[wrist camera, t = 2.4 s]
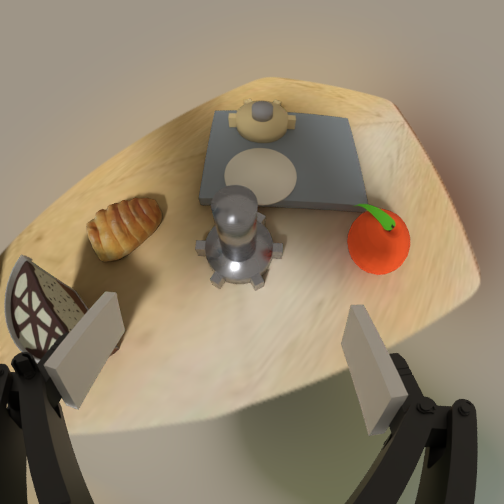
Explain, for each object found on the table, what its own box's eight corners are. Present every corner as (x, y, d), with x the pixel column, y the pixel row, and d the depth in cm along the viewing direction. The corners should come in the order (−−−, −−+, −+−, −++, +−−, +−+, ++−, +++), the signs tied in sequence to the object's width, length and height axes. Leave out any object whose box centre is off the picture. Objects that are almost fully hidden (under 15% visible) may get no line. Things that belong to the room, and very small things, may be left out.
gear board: (199, 210, 33) (192, 186, 28) (216, 115, 40) (213, 90, 35) (365, 218, 33) (380, 195, 28) (344, 122, 39) (352, 98, 35)
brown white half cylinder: (42, 315, 28) (-11, 293, 18) (70, 282, 30) (20, 250, 20) (95, 393, 25) (38, 396, 15) (127, 358, 26) (76, 351, 17)
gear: (194, 288, 29) (169, 251, 20) (203, 218, 33) (186, 163, 23) (280, 291, 29) (293, 255, 20) (280, 221, 33) (290, 164, 23)
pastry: (152, 193, 34) (143, 175, 31) (172, 233, 32) (164, 216, 29) (92, 229, 33) (78, 215, 29) (106, 271, 30) (91, 260, 27)
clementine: (321, 242, 31) (337, 210, 25) (359, 211, 33) (379, 177, 27) (368, 295, 29) (397, 274, 22) (403, 258, 31) (433, 232, 24)
